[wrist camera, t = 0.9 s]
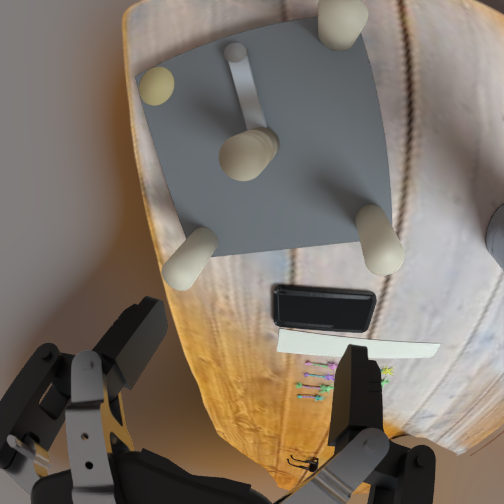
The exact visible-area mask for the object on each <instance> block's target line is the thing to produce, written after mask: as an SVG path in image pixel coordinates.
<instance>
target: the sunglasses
mask: <svg viewBox="0 0 504 504" xmlns="http://www.w3.org/2000/svg"><path fill="white" fill-rule="evenodd" d="M291 458H292V459H293V460H296V459H294V458H293V457H292V456H291ZM287 460H288V463H289V459H287ZM297 461H301V460H297ZM302 462H306V463H310V467H309V468H308V467H304V466H295V465H292V464H290V463H289V464H290V465H292V466H295V467H299V468H302V469H306V470H309V471H310V472H315V471H316V470H317V469H318V459H317V462H313V461H308V460H306V461H302Z"/></svg>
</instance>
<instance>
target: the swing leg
mask: <svg viewBox="0 0 504 504" xmlns="http://www.w3.org/2000/svg"><path fill="white" fill-rule="evenodd" d="M224 57H225V59H226V60H227V61H228V62H229V65H230V69H231V72H232V76H233V79H234V83H235V86H236V90H237V94H238V97H239V101H240V104H241V108H242V112H243V115H244V119H245V123H246V127H247V130H248V131H245V132H243V133H240V134H237V135H235V136H232V137H230V138H229V139H227V140H226V141H225V142H224V143H223V144H222V146H221V148H220V151H219V163H220V166H221V168H222V170H223V171H224V172H225V174H227V175H228V176H229V177H230V178H232V179H235V180H238V181H248V180H252V179H254V178H256V177H257V176H258V175H259V174H260V173H261V172H262V171H263V170H264V168H265V167H266V166H267V165H268V164H269V162H270V161H271V160H272V159H273V158H274V156H275V155H276V154H277V152H278V150H279V147H280V141H279V138H278V136H277V134H276V133H275V132H274V131H273V130H272V129H270V128H267V125H266V122H265V118H264V114H263V110H262V106H261V103H260V99H259V95H258V91H257V88H256V84H255V81H254V77H253V74H252V70H251V67H250V63H249V60H248V50H247V48H246V47H245V46H243V45H242V44H240V43H232V44H229V45H228V46H227V47H226V48H225V50H224Z"/></svg>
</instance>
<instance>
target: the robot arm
mask: <svg viewBox="0 0 504 504" xmlns="http://www.w3.org/2000/svg"><path fill="white" fill-rule="evenodd" d="M486 243H487V248H488V251H489V252H490V254H491V255H492V257H493V258H494V259H495V260H496V262H497V263H498V264H499V266H500V267H501V268H502V270H503V271H504V204H503V205H502V206H501V207H500V208H499V209H498V210H497V211H496V212H495V214H494V215H493V217H492V219H491V221H490V223H489V226H488V230H487V235H486ZM167 328H168V323H167V318H166V313H165V307H164V303H163V301H162V300H159V299H156V298H152V297H149V296H146V297H144V298H143V300H142V301H141V302H140V303H139V304H138V305H137V304H133V305H132V306H130V307H128V308H127V309H125V310H124V311H123V313H122V314H121V315H120V316H119V317H118V319H117V320H116V321H115V322H114V323H113V326H111V327H110V328H109V330H108V331H107V332H106V333H105V335H104V336H103V337H102V338H101V340H100V341H99V342H98V344H97V345H96V346H95V347H94V348H93V349H92V350H86V351H82V352H80V353H78V354H77V355H71V354H66V353H61V352H60V351H59V349H58V348H57V346H56V345H54V344H52V343H45V344H43V345H41V346H40V347H38V348H37V350H36V351H35V352H34V354H33V355H32V356H31V358H30V359H29V360H28V362H27V363H26V364H25V366H24V367H23V368H22V370H21V371H20V373H19V374H18V375H17V377H16V378H15V380H14V381H13V383H12V384H11V386H10V387H9V389H8V390H7V392H6V393H5V395H4V396H3V398H2V399H1V401H0V469H2V470H3V471H5V472H6V473H7V474H8V475H9V476H10V477H11V478H12V479H13V480H14V481H15V482H16V483H17V484H18V485H20V486H21V487H22V488H23V489H24V490H25V491H26V492H27V493H28V494H30V495H31V504H272V503H271V502H270V501H269V500H268V499H267V498H266V497H265V496H263V495H262V494H261V493H259V492H257V491H256V490H253V489H251V485H250V484H246V483H242V482H237V481H233V480H230V479H226V478H219V477H206V476H196V475H192V474H189V473H188V472H186V471H185V470H183V469H182V468H180V467H179V466H177V465H176V464H174V463H173V462H171V461H170V460H169V459H167V458H164V457H162V456H160V455H158V454H155V453H153V452H151V451H148V450H146V449H144V448H143V449H142V451H141V452H139V451H134V447H133V443H132V440H131V437H130V435H129V433H128V431H127V428H126V423H125V418H124V412H123V406H122V399H121V393H120V391H121V389H122V387H123V386H124V387H126V388H128V389H130V390H131V389H132V388H133V386H134V385H135V383H136V381H137V380H138V378H139V377H140V375H141V373H142V372H143V370H144V369H145V367H146V365H147V364H148V362H149V360H150V359H151V357H152V356H153V354H154V353H155V351H156V350H157V348H158V346H159V345H160V343H161V342H162V340H163V338H164V337H165V335H166V332H167ZM50 383H51V384H52V386H51V387H50V389H49V391H48V392H47V394H46V395H45V397H44V398H43V400H42V401H41V403H40V405H39V401H40V399H41V397H42V396H43V394H44V393H45V391H46V389H47V388H48V386H49V385H50ZM381 383H382V381H381V370H380V368H379V366H378V364H377V362H376V361H374V360H368V349H367V347H366V346H360V345H353V344H349V345H348V346H347V348H346V350H345V352H344V354H343V356H342V358H341V360H340V362H339V364H338V366H337V369H336V373H335V380H334V392H333V403H332V413H331V422H330V431H329V438H328V446H335V451H334V455H333V456H332V457H331V458H329V459H328V460H327V461H326V462H325V463H324V464H323V465H322V466H321V467H319V468H318V469H317V470H316V471H315V472H314V473H312V474H311V475H310V476H309V477H308V478H306V479H305V480H304V481H303V482H301V483H300V484H299V485H297V486H296V487H295V488H293V489H292V490H291V491H289V492H288V493H286V494H285V495H284V496H282V497H281V498H280V499H278V500H277V501H275V502H274V503H273V504H346V503H347V502H348V500H349V499H350V495H351V494H352V493H353V491H354V490H355V489H356V488H357V487H358V486H359V485H360V484H361V483H362V482H365V483H368V484H371V487H370V493H369V498H368V503H367V504H432V503H433V494H434V483H435V462H436V460H435V459H436V458H435V454H434V452H433V450H432V449H431V448H430V447H428V446H425V445H418V446H415V447H413V448H412V449H410V448H407V447H404V446H401V445H398V444H396V443H393V442H392V441H391V440H389V439H388V437H387V435H386V434H385V433H384V430H383V405H382V385H381ZM65 419H66V432H67V444H68V452H69V460H70V467H71V469H69V470H66V471H62V472H59V473H55V474H51V475H48V474H47V468H49V467H50V466H51V461H50V459H49V455H48V453H47V452H48V450H49V448H50V447H51V445H52V443H53V441H54V439H55V437H56V435H57V434H58V432H59V430H60V428H61V426H62V425H63V423H64V421H65Z"/></svg>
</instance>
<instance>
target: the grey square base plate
mask: <svg viewBox="0 0 504 504" xmlns="http://www.w3.org/2000/svg"><path fill="white" fill-rule="evenodd" d="M367 20H368V10H367V7H366V5H365V4H364V3H363V2H362V1H361V0H319V3H318V17H311V18H304V19H298V20H292V21H287V22H282V23H277V24H273V25H268V26H264V27H260V28H256V29H252V30H248V31H245V32H241V33H238V34H235V35H231V36H228V37H225V38H222V39H219V40H216V41H213V42H211V43H208V44H205V45H202V46H200V47H197V48H195V49H192V50H190V51H187V52H185V53H182V54H180V55H178V56H175V57H173V58H171V59H169V60H167V61H164V62H162V63H160V64H158V65H156V66H154V67H152V68H150V69H148V70H146V71H144V72H142V73H140V74H139V75H137V76H135V79H136V83H137V87H138V91H139V94H140V98H141V102H142V105H143V109H144V112H145V116H146V119H147V123H148V126H149V129H150V133H151V136H152V139H153V142H154V146H155V149H156V152H157V155H158V158H159V161H160V164H161V168H162V171H163V174H164V177H165V180H166V183H167V186H168V188H169V191H170V194H171V197H172V200H173V203H174V206H175V208H176V211H177V214H178V217H179V220H180V222H181V225H182V228H183V231H184V233H185V236H186V240H185V241H184V242H183V244H182V245H181V246H180V247H179V248H178V249H177V250H176V252H175V253H174V254H173V255H172V256H171V257H170V258H169V260H168V261H167V262H166V263H165V264H164V265H163V267H162V276H163V278H164V280H165V281H166V283H167V284H168V285H169V286H171V287H172V288H174V289H176V290H181V291H184V290H188V289H189V288H190V287H191V286H192V285H193V283H194V281H195V280H196V278H197V277H198V275H199V274H200V272H201V271H202V269H203V268H204V266H205V265H206V263H207V262H208V260H209V259H210V257H217V256H226V255H236V254H245V253H255V252H264V251H273V250H283V249H292V248H301V247H311V246H320V245H329V244H339V243H348V242H357V241H360V243H361V247H362V251H363V255H364V260H365V264H366V267H367V268H368V270H369V271H370V272H372V273H373V274H376V275H381V276H384V275H389V274H392V273H394V272H395V271H397V270H398V269H399V268H400V266H401V265H402V263H403V261H404V250H403V247H402V245H401V243H400V241H399V239H398V237H397V235H396V233H395V231H394V229H393V227H392V204H391V188H390V176H389V166H388V157H387V149H386V141H385V134H384V128H383V122H382V116H381V111H380V105H379V100H378V96H377V91H376V87H375V82H374V78H373V74H372V70H371V66H370V62H369V59H368V55H367V52H366V48H365V45H364V42H363V38H362V35H361V31H362V29H363V27H364V26H365V24H366V22H367ZM232 43H240V44H242V45H243V46H245V47H246V48H247V50H248V60H249V63H250V67H251V70H252V74H253V77H254V81H255V84H256V88H257V91H258V95H259V99H260V103H261V106H262V110H263V114H264V118H265V122H266V125H267V128H270V129H272V130H273V131H274V132H275V133H276V134H277V136H278V138H279V141H280V147H279V150H278V152H277V154H276V155H275V156H274V158H273V159H272V160H271V161H270V162H269V164H268V165H267V166H266V167H265V168H264V170H263V171H262V172H261V173H260V174H259V175H258V176H257V177H256V178H254V179H252V180H248V181H238V180H235V179H232V178H230V177H229V176H228V175H227V174H225V172H224V171H223V170H222V168H221V166H220V163H219V151H220V148H221V146H222V144H223V143H224V142H225V141H226V140H227V139H229V138H230V137H232V136H235V135H237V134H240V133H243V132H245V131H248V130H247V127H246V123H245V119H244V115H243V112H242V108H241V104H240V101H239V97H238V94H237V90H236V86H235V83H234V79H233V76H232V72H231V69H230V65H229V62H228V61H227V60H226V59H225V57H224V50H225V48H226V47H227V46H228V45H229V44H232Z"/></svg>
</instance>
